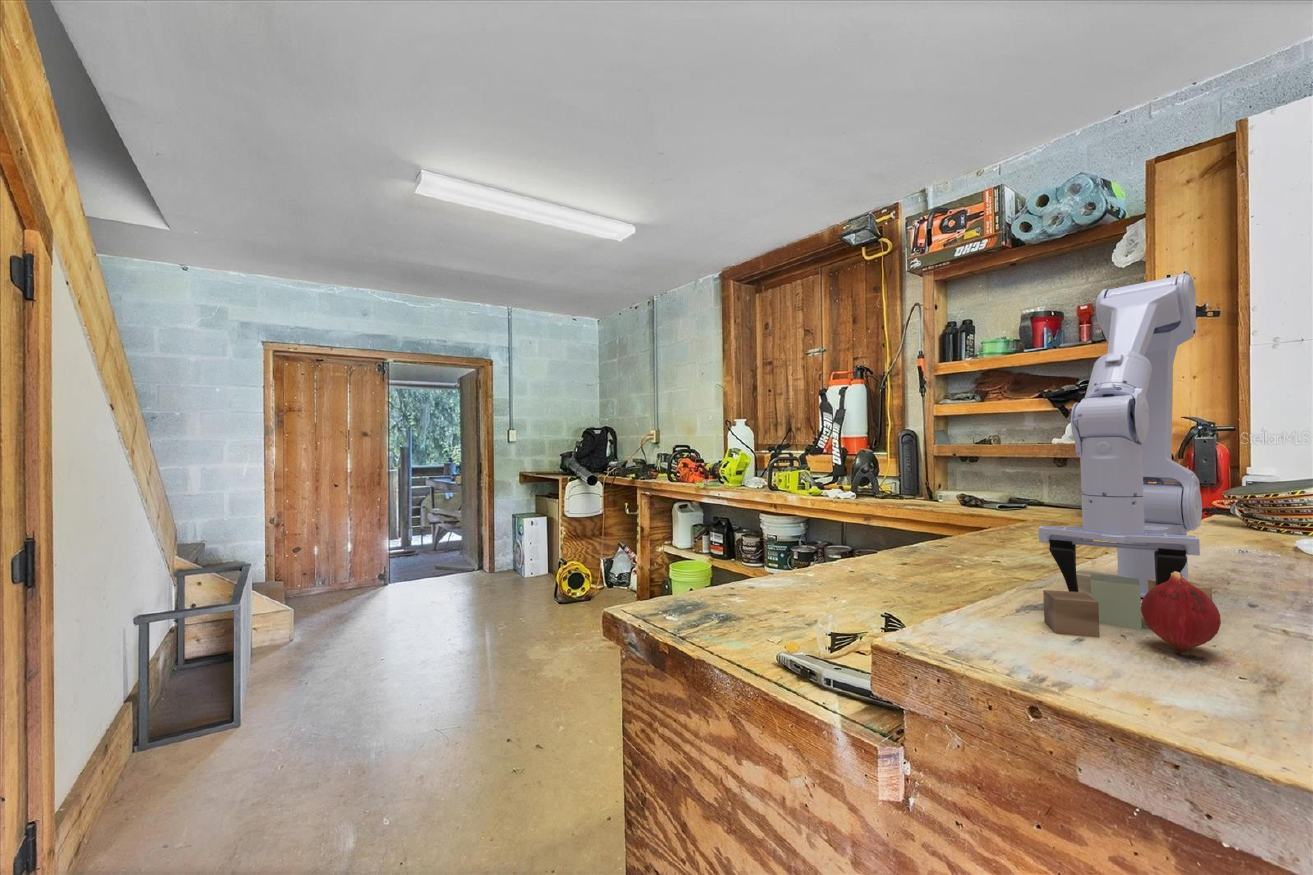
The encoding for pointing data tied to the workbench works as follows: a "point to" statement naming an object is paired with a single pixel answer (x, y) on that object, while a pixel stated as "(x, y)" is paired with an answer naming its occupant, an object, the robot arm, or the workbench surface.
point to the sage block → (1117, 600)
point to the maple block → (1087, 580)
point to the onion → (1180, 613)
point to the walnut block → (1071, 613)
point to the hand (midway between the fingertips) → (1115, 607)
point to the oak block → (1203, 588)
